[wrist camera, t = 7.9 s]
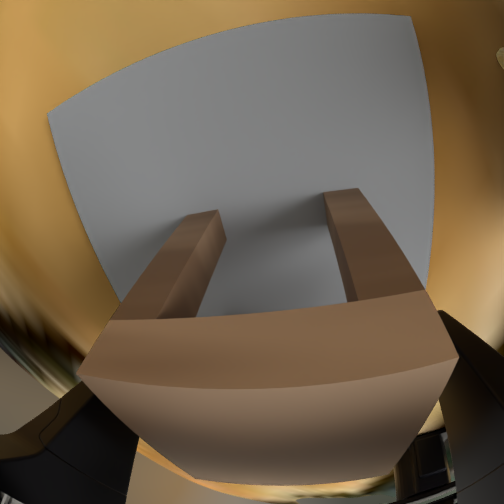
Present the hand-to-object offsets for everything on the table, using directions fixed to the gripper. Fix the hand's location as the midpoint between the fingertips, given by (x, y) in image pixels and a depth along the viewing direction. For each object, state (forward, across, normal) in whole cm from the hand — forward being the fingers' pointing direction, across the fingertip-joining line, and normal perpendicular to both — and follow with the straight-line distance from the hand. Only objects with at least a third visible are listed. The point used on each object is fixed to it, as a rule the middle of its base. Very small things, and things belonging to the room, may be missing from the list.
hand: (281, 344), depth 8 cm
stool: (+3, 0, 0) cm, 3 cm away
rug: (+4, +1, -1) cm, 4 cm away
